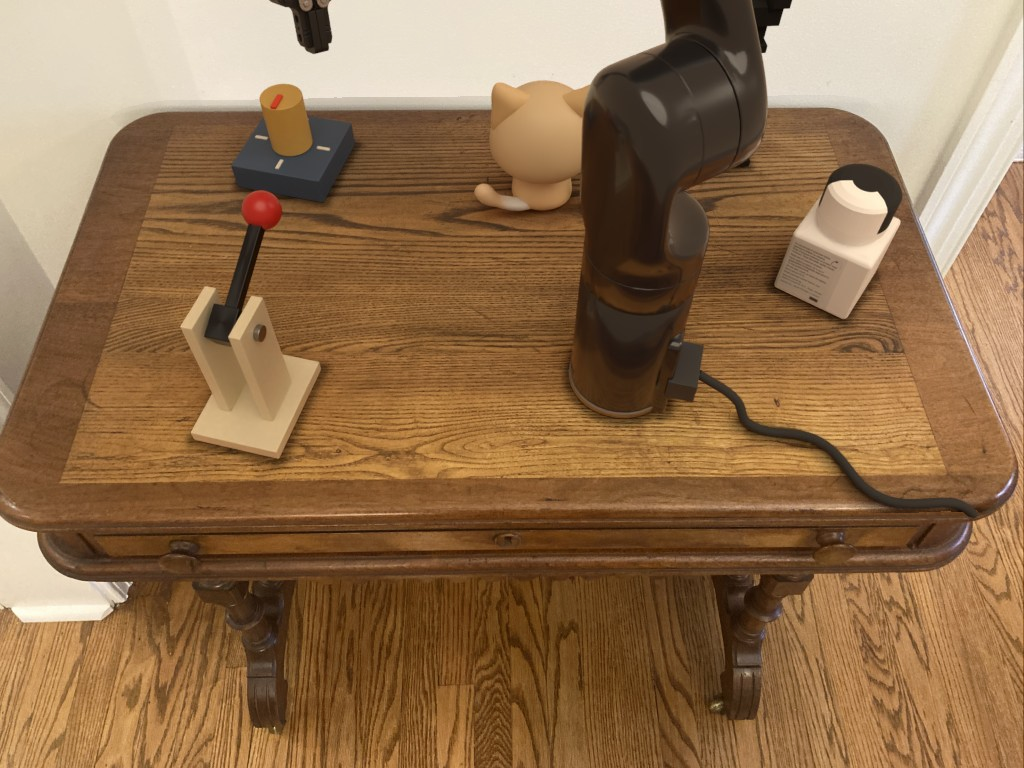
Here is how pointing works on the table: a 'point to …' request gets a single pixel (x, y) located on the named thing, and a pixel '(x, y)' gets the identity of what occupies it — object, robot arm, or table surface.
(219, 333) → the red knob lever
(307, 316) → the table surface
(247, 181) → the panel
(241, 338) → the lever stand
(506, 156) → the kitten
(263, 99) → the dial
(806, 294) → the container
